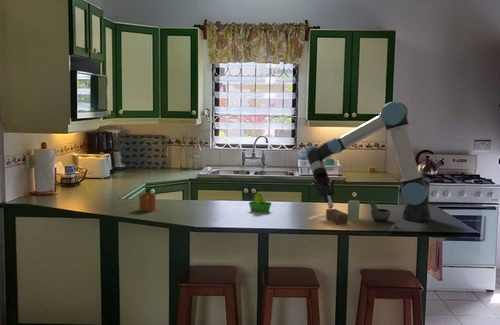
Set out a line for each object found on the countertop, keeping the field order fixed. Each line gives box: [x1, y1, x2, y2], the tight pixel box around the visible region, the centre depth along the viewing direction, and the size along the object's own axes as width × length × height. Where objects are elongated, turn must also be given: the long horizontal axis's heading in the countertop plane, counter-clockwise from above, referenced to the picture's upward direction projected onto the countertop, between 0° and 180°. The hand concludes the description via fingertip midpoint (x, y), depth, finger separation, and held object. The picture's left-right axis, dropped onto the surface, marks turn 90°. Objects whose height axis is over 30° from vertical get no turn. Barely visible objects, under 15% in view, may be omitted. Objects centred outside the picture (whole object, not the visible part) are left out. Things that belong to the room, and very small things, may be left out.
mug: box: [138, 192, 156, 213], centre depth 296 cm, size 9×12×9 cm
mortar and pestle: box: [368, 199, 392, 223], centre depth 276 cm, size 11×9×12 cm
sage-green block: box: [347, 199, 361, 223], centre depth 275 cm, size 5×5×10 cm
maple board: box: [306, 213, 361, 226], centre depth 277 cm, size 24×14×2 cm, turn 58°
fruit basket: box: [248, 192, 272, 214], centre depth 300 cm, size 11×9×11 cm
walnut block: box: [325, 208, 348, 225], centre depth 272 cm, size 5×5×14 cm
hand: (331, 207), depth 277 cm, fingers closed
